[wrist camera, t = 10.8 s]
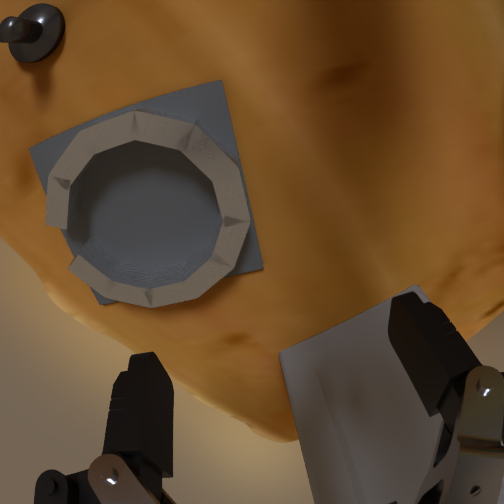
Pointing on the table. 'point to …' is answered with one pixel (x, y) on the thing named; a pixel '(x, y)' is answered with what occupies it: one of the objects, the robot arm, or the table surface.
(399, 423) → the tall grey upright block
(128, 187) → the rubber mat
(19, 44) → the peg stand
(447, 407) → the robot arm
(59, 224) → the steel ring
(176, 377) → the table surface
